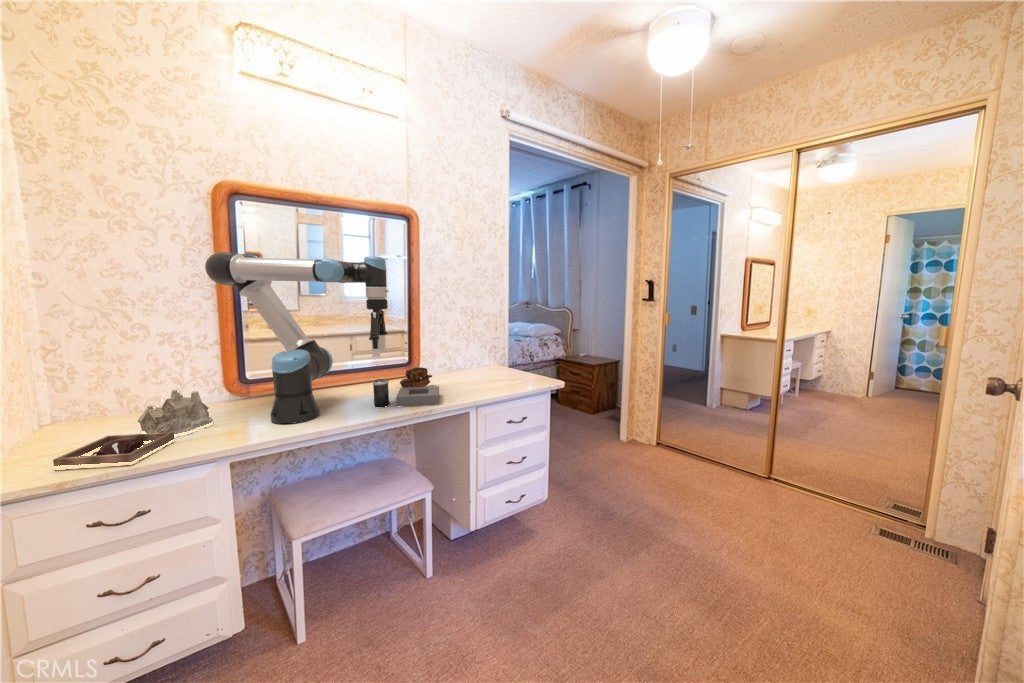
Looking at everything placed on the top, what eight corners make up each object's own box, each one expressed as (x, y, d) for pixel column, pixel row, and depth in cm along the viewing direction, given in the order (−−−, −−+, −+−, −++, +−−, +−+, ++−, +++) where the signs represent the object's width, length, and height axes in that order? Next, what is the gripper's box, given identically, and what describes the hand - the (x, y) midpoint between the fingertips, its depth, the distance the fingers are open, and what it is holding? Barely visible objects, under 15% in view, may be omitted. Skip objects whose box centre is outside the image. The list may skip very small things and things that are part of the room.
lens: (372, 408, 147) (371, 382, 146) (375, 403, 153) (374, 379, 151) (388, 407, 148) (387, 382, 147) (390, 403, 154) (389, 378, 152)
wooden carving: (405, 393, 167) (404, 371, 166) (399, 392, 170) (398, 370, 168) (434, 386, 180) (434, 365, 179) (428, 384, 183) (427, 364, 181)
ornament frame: (54, 470, 97) (52, 459, 96) (109, 445, 112) (107, 435, 112) (132, 465, 100) (130, 454, 99) (174, 441, 115) (173, 432, 115)
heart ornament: (107, 476, 100) (80, 451, 101) (156, 463, 112) (131, 441, 113) (120, 456, 100) (93, 431, 101) (167, 445, 111) (143, 423, 113)
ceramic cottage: (222, 423, 131) (213, 380, 128) (167, 443, 115) (156, 395, 113) (189, 421, 135) (180, 380, 133) (132, 441, 120) (121, 394, 117)
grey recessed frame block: (396, 407, 148) (396, 397, 148) (400, 397, 162) (400, 387, 162) (438, 404, 151) (438, 395, 150) (439, 395, 165) (439, 386, 164)
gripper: (381, 299, 133) (384, 359, 136) (391, 297, 157) (393, 348, 160) (359, 299, 132) (362, 360, 135) (372, 297, 156) (375, 349, 159)
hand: (379, 354), depth 148 cm, fingers open, 13 cm apart
